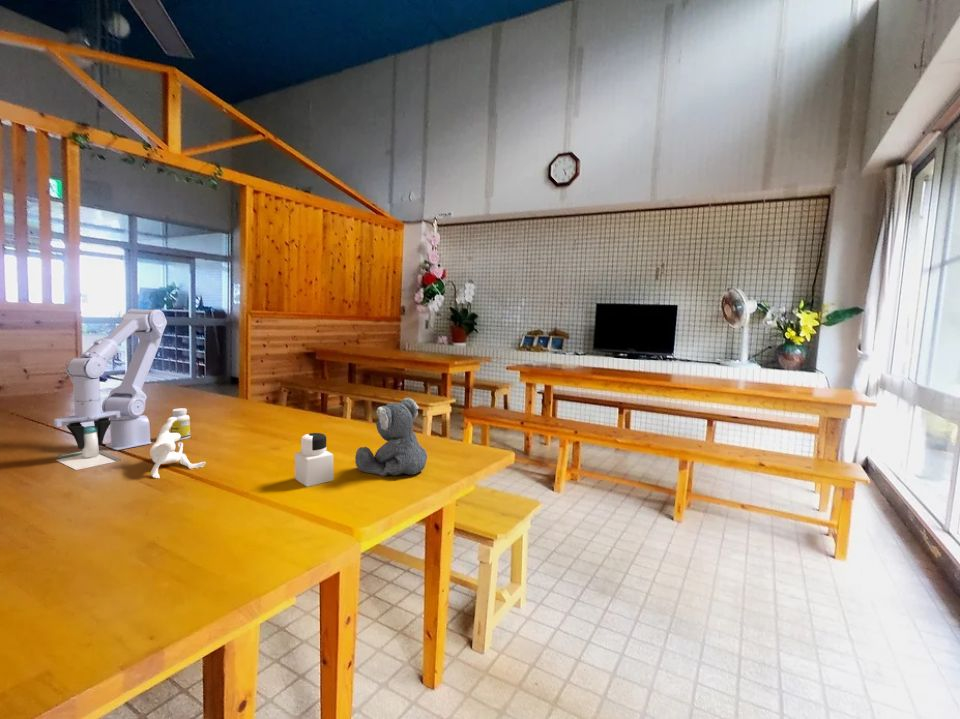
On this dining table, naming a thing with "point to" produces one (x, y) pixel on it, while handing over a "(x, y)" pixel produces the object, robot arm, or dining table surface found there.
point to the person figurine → (169, 449)
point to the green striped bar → (70, 455)
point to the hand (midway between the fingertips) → (90, 446)
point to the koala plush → (394, 442)
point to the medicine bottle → (313, 461)
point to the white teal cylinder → (90, 441)
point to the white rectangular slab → (88, 461)
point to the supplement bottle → (181, 423)
